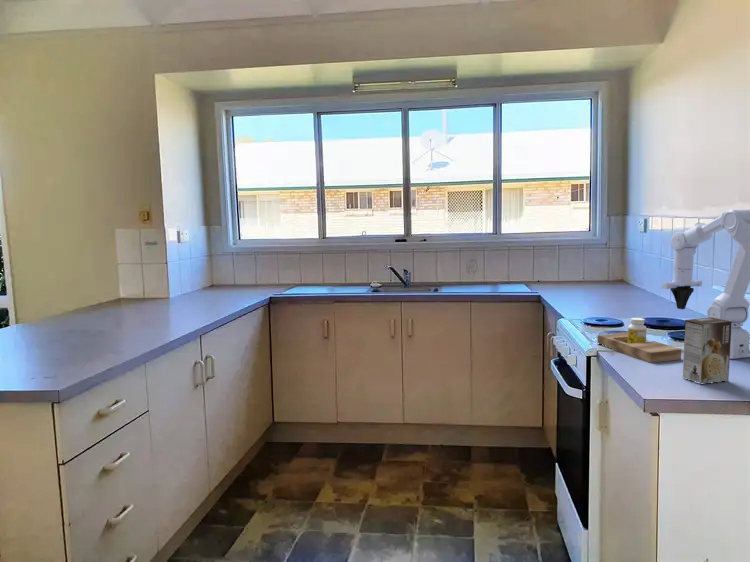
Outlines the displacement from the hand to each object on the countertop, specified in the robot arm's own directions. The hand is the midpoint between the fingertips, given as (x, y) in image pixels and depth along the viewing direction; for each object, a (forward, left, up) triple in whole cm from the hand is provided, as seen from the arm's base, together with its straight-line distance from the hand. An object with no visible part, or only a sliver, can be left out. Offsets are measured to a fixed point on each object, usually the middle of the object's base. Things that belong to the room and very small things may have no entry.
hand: (680, 308), depth 198 cm
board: (-8, +24, -10) cm, 27 cm away
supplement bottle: (-5, +22, -11) cm, 25 cm away
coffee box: (-38, +28, -11) cm, 48 cm away
